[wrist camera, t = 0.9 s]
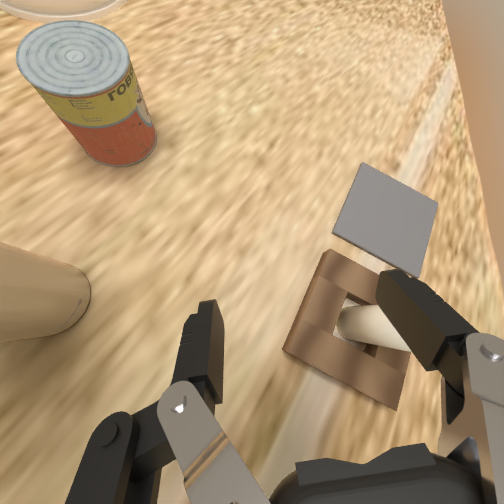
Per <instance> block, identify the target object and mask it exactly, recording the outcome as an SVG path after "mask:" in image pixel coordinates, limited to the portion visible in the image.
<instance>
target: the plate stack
mask: <svg viewBox="0 0 504 504" xmlns="http://www.w3.org/2000/svg"><path fill="white" fill-rule="evenodd" d="M127 1H128V0H0V9H1V10H3V11H5V12H7V13H9V14H11V15H14V16H16V17H19V18H22V19H26V20H30V21H34V22H39V23H46V24H48V23H52V22H56V21H64V20H78V21H86V22H90V21H94V20H98V19H101V18H103V17H106V16H108V15H110V14H112V13H114V12H116V11H117V10H119V9H120V8H121V7H122V6H124V5H125V4H126V2H127Z"/></svg>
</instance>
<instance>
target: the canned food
mask: <svg viewBox="0 0 504 504" xmlns="http://www.w3.org/2000/svg"><path fill="white" fill-rule="evenodd" d="M16 62H17V66H18V68H19V70H20V72H21V73H22V75H23V76H24V77H25V78H26V79H27V81H29V82H30V83H31V84H32V86H33V87H34V88H35V89H36V91H37V92H38V93H39V94H40V95H41V97H42V98H43V99H44V100H45V102H46V103H47V104H48V105H49V106H50V108H51V109H52V110H53V111H54V113H55V114H56V115H57V116H58V117H59V119H60V120H61V121H62V122H63V124H64V125H65V126H66V127H67V128H68V130H69V131H70V132H71V133H72V135H73V136H74V137H75V138H76V139H77V141H78V142H79V143H80V144H81V146H82V147H83V148H84V150H85V151H86V153H87V154H88V155H89V156H90V157H91V158H92V159H94V160H95V161H97V162H99V163H101V164H104V165H107V166H113V167H124V166H130V165H133V164H136V163H138V162H140V161H142V160H144V159H145V158H146V157H148V156H149V155H150V153H151V152H152V151H153V149H154V147H155V145H156V140H157V135H156V131H155V128H154V126H153V124H152V121H151V118H150V115H149V112H148V109H147V107H146V104H145V101H144V98H143V95H142V92H141V89H140V87H139V84H138V81H137V78H136V75H135V72H134V69H133V67H132V64H131V61H130V57H129V53H128V50H127V47H126V45H125V44H124V42H123V41H122V40H121V39H120V38H119V37H118V36H117V35H116V34H115V33H113V32H112V31H110V30H109V29H107V28H105V27H103V26H100V25H98V24H94V23H91V22H86V21H78V20H64V21H56V22H52V23H48V24H45V25H42V26H40V27H38V28H36V29H34V30H33V31H31V32H30V33H28V34H27V35H26V36H25V37H24V38H23V39H22V41H21V42H20V44H19V46H18V48H17V52H16Z"/></svg>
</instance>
